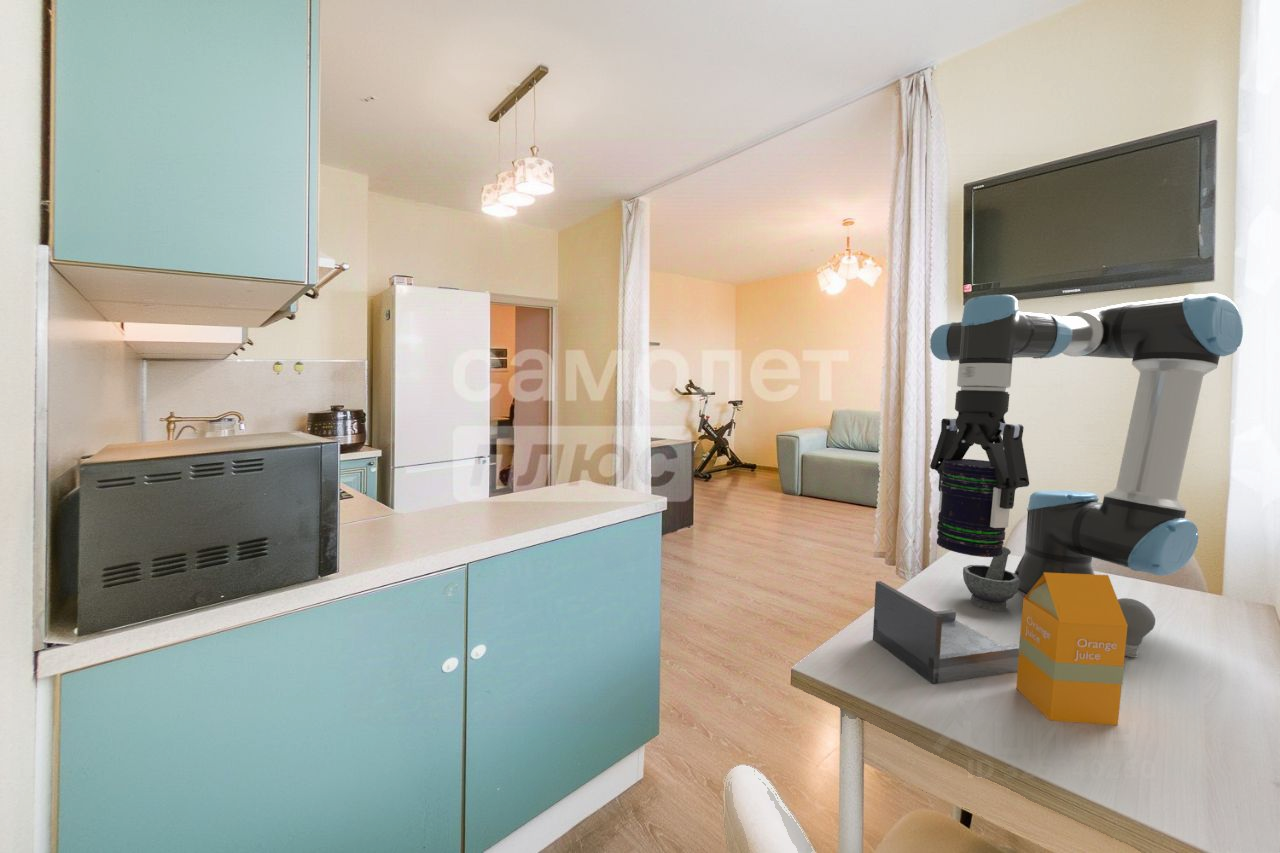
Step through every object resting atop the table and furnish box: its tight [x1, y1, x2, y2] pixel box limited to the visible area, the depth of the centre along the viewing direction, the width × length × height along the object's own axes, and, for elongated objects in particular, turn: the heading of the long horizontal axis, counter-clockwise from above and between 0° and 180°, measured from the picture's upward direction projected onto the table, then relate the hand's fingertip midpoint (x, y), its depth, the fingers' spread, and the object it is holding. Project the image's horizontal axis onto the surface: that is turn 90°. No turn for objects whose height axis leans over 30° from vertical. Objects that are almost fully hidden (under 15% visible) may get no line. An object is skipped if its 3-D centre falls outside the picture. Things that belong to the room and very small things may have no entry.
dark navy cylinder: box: [936, 458, 1007, 558], centre depth 87 cm, size 10×10×15 cm
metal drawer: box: [872, 580, 1019, 685], centre depth 87 cm, size 17×14×11 cm
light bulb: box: [1117, 597, 1156, 658], centre depth 87 cm, size 6×6×10 cm
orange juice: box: [1015, 572, 1128, 726], centre depth 73 cm, size 8×9×20 cm
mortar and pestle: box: [962, 545, 1020, 612], centre depth 107 cm, size 11×9×12 cm
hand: (971, 518), depth 87 cm, fingers closed on dark navy cylinder, 10 cm apart
